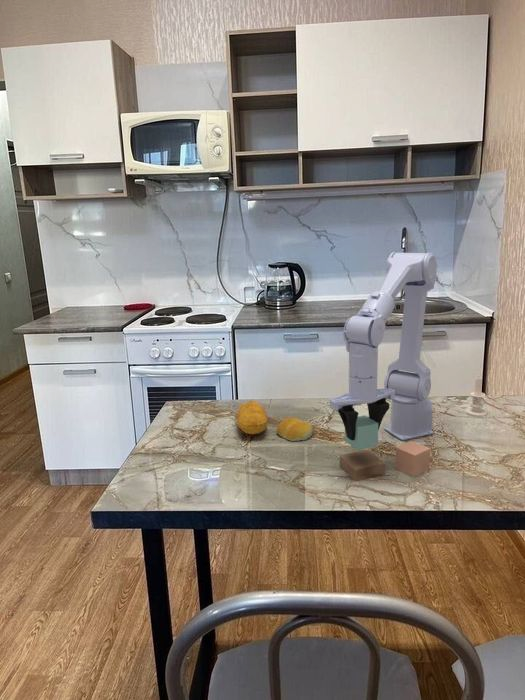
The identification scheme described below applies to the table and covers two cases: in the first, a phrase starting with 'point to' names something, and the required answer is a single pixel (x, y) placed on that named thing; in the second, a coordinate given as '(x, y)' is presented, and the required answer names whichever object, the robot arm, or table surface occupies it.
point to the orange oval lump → (251, 418)
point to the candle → (477, 401)
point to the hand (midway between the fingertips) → (362, 435)
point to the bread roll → (294, 429)
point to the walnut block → (362, 465)
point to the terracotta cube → (412, 458)
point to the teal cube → (364, 433)
